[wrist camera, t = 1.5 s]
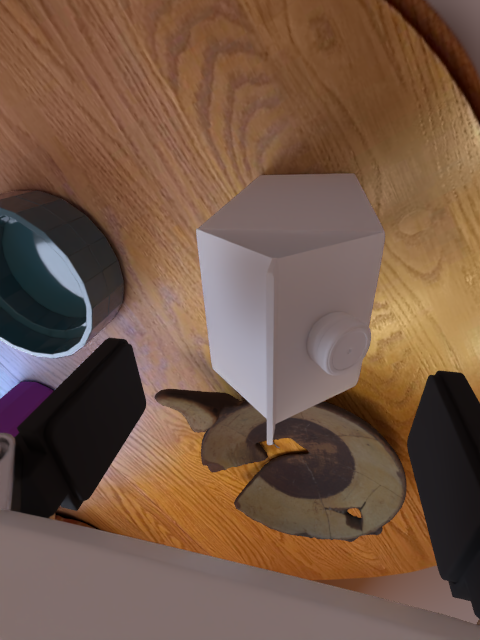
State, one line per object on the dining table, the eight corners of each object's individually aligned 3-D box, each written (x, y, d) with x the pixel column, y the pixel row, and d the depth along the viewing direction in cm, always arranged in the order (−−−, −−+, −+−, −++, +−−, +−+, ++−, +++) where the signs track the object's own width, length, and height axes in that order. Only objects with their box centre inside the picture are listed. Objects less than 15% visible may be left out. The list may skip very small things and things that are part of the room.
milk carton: (260, 261, 29) (182, 431, 13) (259, 174, 25) (148, 267, 9) (343, 264, 27) (368, 461, 12) (355, 172, 24) (414, 279, 8)
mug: (45, 373, 44) (-64, 473, 32) (108, 448, 51) (38, 556, 38) (3, 384, 48) (-109, 478, 35) (68, 453, 54) (-9, 553, 42)
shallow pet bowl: (-33, 189, 32) (-100, 202, 27) (104, 188, 29) (58, 203, 24) (27, 321, 40) (-16, 350, 35) (139, 332, 36) (110, 365, 32)
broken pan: (260, 506, 50) (251, 563, 43) (153, 357, 38) (118, 405, 32) (420, 497, 41) (438, 568, 34) (343, 297, 29) (348, 348, 23)
